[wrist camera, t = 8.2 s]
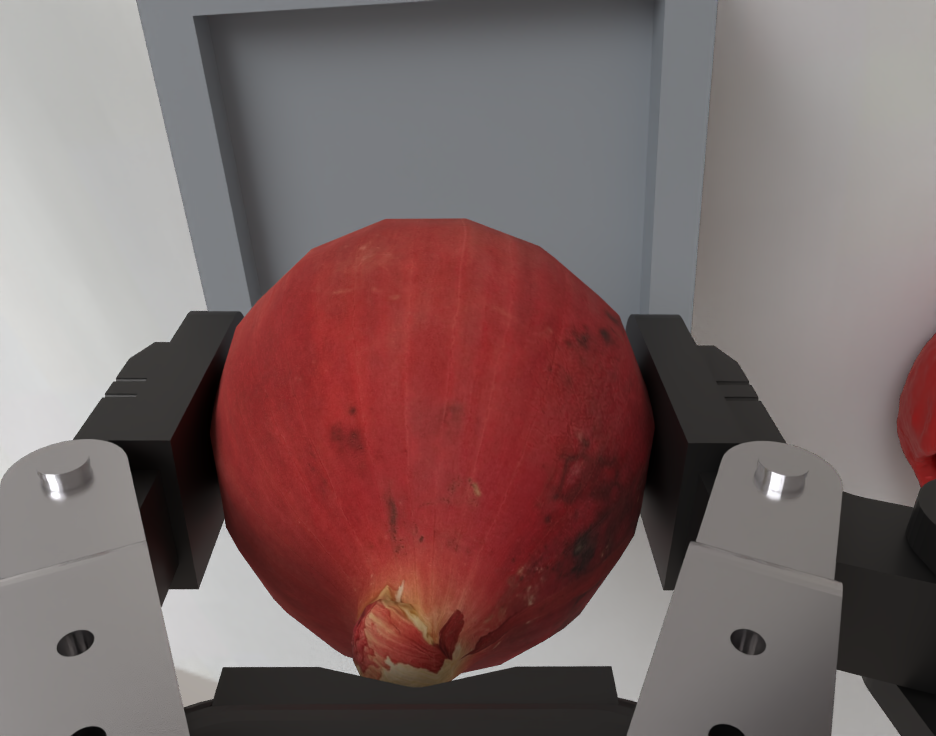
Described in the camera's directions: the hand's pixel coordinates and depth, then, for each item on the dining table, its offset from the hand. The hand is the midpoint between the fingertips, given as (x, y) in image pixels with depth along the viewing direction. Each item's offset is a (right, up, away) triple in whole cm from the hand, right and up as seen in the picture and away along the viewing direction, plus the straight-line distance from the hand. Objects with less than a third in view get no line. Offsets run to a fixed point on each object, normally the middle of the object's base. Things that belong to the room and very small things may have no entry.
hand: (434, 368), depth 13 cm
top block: (0, +5, +9) cm, 10 cm away
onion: (0, +1, +2) cm, 2 cm away
